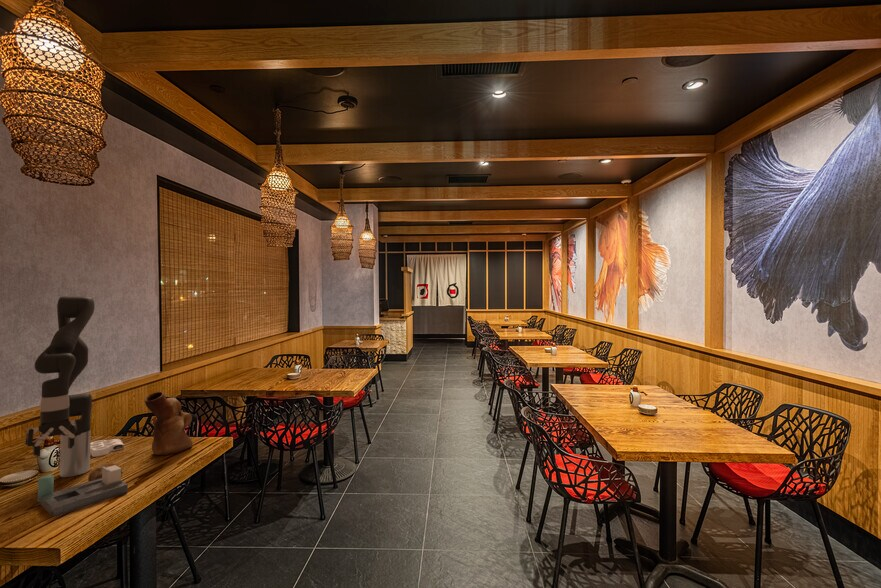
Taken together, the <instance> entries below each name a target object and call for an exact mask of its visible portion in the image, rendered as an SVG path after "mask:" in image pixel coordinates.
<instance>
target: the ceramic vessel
mask: <svg viewBox="0 0 881 588" xmlns="http://www.w3.org/2000/svg"><path fill="white" fill-rule="evenodd" d="M143 401H144V403H145V405H146V408H147V409H148V410H149V411H150V412H151V413H152V414H153V415H154V416H155V417H156V418H155V420H154V422H153V439H152V440H153V441H152V443H151V451H152V453H154V455H156V456H166V455H167V456H168V455H171V454H177V453H180V452H182V451H185V450H187V449H189V448H191V447H193V445H194V443H193V440H192V438H191V437H190V436H189V435H188V434H187V433H186V432H185V430H184V429H185V428H186V427H188V426H189V425H190V424H191V423H192V420H193V416H192V414H191V413H188V412H184V411H183V410H182V403H181V402H180V401H179V400H178V399H177V397H176V396H175V394H171V397H166V395H165V393H164V392H162V391H158V392H157V391H156V392H152V393H150V394H148V395H147V396H145V397H144V399H143Z"/></svg>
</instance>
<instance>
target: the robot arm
mask: <svg viewBox="0 0 881 588" xmlns="http://www.w3.org/2000/svg"><path fill="white" fill-rule="evenodd" d="M56 308H57V309H56V310H57V325H58V330H57V331H55V334H54V335H53V337H52V339H51V342H50V344H49V345H48V346H47V348H46V349H44V350H43V351H42V352H41V353H40V354H39V355H38V356H37V358H36V360H35V362H34V369H35V371H36V372H37V373H39V374H41V375H43V374H45V375H46V374H55V373H57V375H58V376H57V377H56V378H52V379H47V380H44V381H43V382H42V383H41V398H40V409H39V417H40V418H39V426H38V427H29V428H27V429H26V435H25V446H27V447H32V454H33V455H34V456H36V457H37V458H38V457H40V456H41V444H42V442H44V441H45V440H46V439H47V438H51V437H55V436H60V450H59V451H60V454H59V457H60V458H59V460H60V461H59V462H60V463H59V477H61V478H71V477H75V476H80V475H83V474H85V473H88V472H89V471H90V469H91V455H90V443H91V437H92V435H91V434H92V433H91V429H92V427H91V424H92V423H91V420H92V419H91V416H92V407H93V397H92V394H91V393H88V392H86V393H85V392H84V393H75V394H74V393H73V394H69V391H70V388H71V386H72V384H73V383H74V382H75V380H77V378H78V377H79V376H80V374H81V373H83V372H84V370H85V369H86V367H87V365H88V362H89V348H88V346H87V344H86V342H85V341H84V340H83V339H82V338H81V337H80V335H81V334H82V332H83V330H84V329H85V328H86V327H87V324H88V323H89V322H90V319H91V318H92V316H93V315H94V311H95V301H94V299H93V298H92V297H90V296H78V295H77V296H73V295H72V296H71V295H70V296H69V295H68V296H66V295H65V296H61V297H59V299H58V300H57V306H56ZM71 319H73V320H71ZM79 416H80V417H79ZM72 417H79V418H75V419H72V420H70V418H72ZM38 431H39V433H40V434H39V435H38V436H37V438H36V439H35V440H34V439H33V438H34V435H36V433H37V432H38ZM33 440H34V441H33Z"/></svg>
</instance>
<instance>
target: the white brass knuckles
mask: <svg viewBox="0 0 881 588" xmlns="http://www.w3.org/2000/svg"><path fill="white" fill-rule="evenodd" d="M124 448H125V444H124V443H123V441H122V439H119V438H112V439H109V440H108V439H107V440H106V439H101V440H100V439H98V440H95V441H92V442H91V441H90V456H91V457H93V458H95V457H96V458H97V457H102V456H105V455H108V454H109V453H112V452H115V451H120V450H121V451H122V449H124Z"/></svg>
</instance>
